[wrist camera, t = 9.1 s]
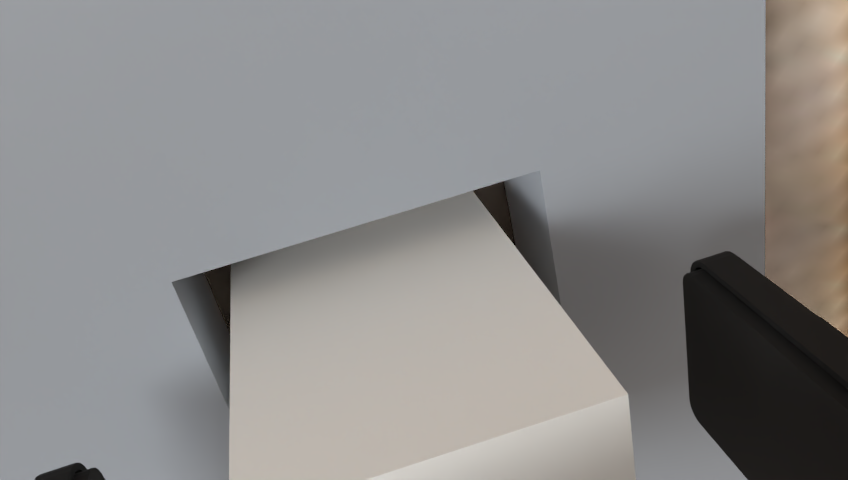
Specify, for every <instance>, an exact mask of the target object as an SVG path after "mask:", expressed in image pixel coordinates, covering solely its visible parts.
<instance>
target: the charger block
mask: <svg viewBox="0 0 848 480" xmlns="http://www.w3.org/2000/svg"><path fill="white" fill-rule="evenodd" d="M229 480H636V474H635V464H634V453H633V442H632V431H631V420H630V409H629V398H628V393H627V392H626V391H625V389H624V388H623V387H622V385H621V384H620V383H619V382H618V380H617V379H616V378H615V376H614V375H613V374H612V372H611V371H610V370H609V368H608V367H607V366H606V365H605V363H604V362H603V361H602V359H601V358H600V357H599V355H598V354H597V353H596V351H595V350H594V349H593V348H592V346H591V345H590V344H589V342H588V341H587V340H586V338H585V337H584V336H583V334H582V333H581V332H580V331H579V329H578V328H577V327H576V325H575V324H574V323H573V321H572V320H571V319H570V317H569V316H568V315H567V314H566V312H565V311H564V310H563V308H562V307H561V306H560V304H559V303H558V302H557V300H556V299H555V298H554V297H553V295H552V294H551V293H550V291H549V290H548V289H547V287H546V286H545V285H544V283H543V282H542V281H541V280H540V278H539V277H538V276H537V274H536V273H535V272H534V270H533V269H532V268H531V266H530V265H529V264H528V263H527V261H526V260H525V259H524V257H523V256H522V255H521V253H520V252H519V251H518V249H517V248H516V247H515V246H514V244H513V243H512V242H511V240H510V239H509V238H508V236H507V235H506V234H505V232H504V231H503V230H502V229H501V227H500V226H499V225H498V223H497V222H496V221H495V219H494V218H493V217H492V215H491V214H490V213H489V212H488V210H487V209H486V208H485V206H484V205H483V204H482V202H481V201H480V200H479V198H478V197H477V196H476V195H475V193H474V192H473V191H470V192H466V193H463V194H460V195H457V196H453V197H450V198H447V199H443V200H440V201H437V202H434V203H430V204H427V205H424V206H420V207H417V208H414V209H411V210H407V211H404V212H401V213H397V214H394V215H391V216H387V217H384V218H381V219H378V220H374V221H371V222H368V223H364V224H361V225H358V226H355V227H351V228H348V229H345V230H341V231H338V232H335V233H332V234H328V235H325V236H322V237H318V238H315V239H312V240H308V241H305V242H302V243H299V244H295V245H292V246H289V247H285V248H282V249H279V250H276V251H272V252H269V253H266V254H262V255H259V256H256V257H253V258H249V259H246V260H243V261H239V262H236V263H233V264H231V312H230V419H229Z"/></svg>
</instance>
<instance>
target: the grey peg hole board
mask: <svg viewBox="0 0 848 480" xmlns="http://www.w3.org/2000/svg"><path fill="white" fill-rule="evenodd" d="M765 14H766V0H0V480H35V478H36V477H37V476H38V475H40V474H43V473H46V472H49V471H52V470H55V469H58V468H61V467H64V466H67V465H70V464H73V463H81V464H83V465H84V466H85V467H86V468H87V469H90V468H97V469H99V471H100V472H101V473H102V475H103V477H104V478H105V480H229V419H230V333H229V331H228V328H227V326H226V324H225V321H224V319H223V317H222V314H221V312H220V309H219V307H218V305H217V302H216V300H215V298H214V295H213V293H212V291H211V288H210V286H209V283H208V281H207V279H206V276H205V274H204V272H206V271H210V270H213V269H216V268H220V267H223V266H226V265H229V264H233V263H236V262H239V261H243V260H246V259H249V258H253V257H256V256H259V255H262V254H266V253H269V252H272V251H276V250H279V249H282V248H285V247H289V246H292V245H295V244H299V243H302V242H305V241H308V240H312V239H315V238H318V237H322V236H325V235H328V234H332V233H335V232H338V231H341V230H345V229H348V228H351V227H355V226H358V225H361V224H364V223H368V222H371V221H374V220H378V219H381V218H384V217H387V216H391V215H394V214H397V213H401V212H404V211H407V210H411V209H414V208H417V207H420V206H424V205H427V204H430V203H434V202H437V201H440V200H443V199H447V198H450V197H453V196H457V195H460V194H463V193H466V192H470V191H473V190H476V189H480V188H483V187H486V186H490V185H493V184H496V183H499V182H503V181H504V185H505V190H506V196H507V201H508V207H509V212H510V218H511V223H512V228H513V234H514V239H515V245H516V248H517V249H518V251H519V252H520V253H521V255H522V256H523V257H524V259H525V260H526V261H527V263H528V264H529V265H530V266H531V268H532V269H533V270H534V272H535V273H536V274H537V276H538V277H539V278H540V280H541V281H542V282H543V283H544V285H545V286H546V287H547V289H548V290H549V291H550V293H551V294H552V295H553V297H554V298H555V299H556V300H557V302H558V303H559V304H560V306H561V307H562V308H563V310H564V311H565V312H566V314H567V315H568V316H569V317H570V319H571V320H572V321H573V323H574V324H575V325H576V327H577V328H578V329H579V331H580V332H581V333H582V334H583V336H584V337H585V338H586V340H587V341H588V342H589V344H590V345H591V346H592V348H593V349H594V350H595V351H596V353H597V354H598V355H599V357H600V358H601V359H602V361H603V362H604V363H605V365H606V366H607V367H608V368H609V370H610V371H611V372H612V374H613V375H614V376H615V378H616V379H617V380H618V382H619V383H620V384H621V385H622V387H623V388H624V389H625V391H626V392H627V393H628V398H629V409H630V420H631V431H632V442H633V453H634V464H635V474H636V480H748V479H747V478H746V477H745V476H744V475H743V474H742V472H741V471H740V470H739V469H738V468H737V467H736V465H735V464H734V463H733V462H732V461H731V460H730V458H729V457H728V456H727V455H726V454H725V453H724V451H723V450H722V449H721V448H720V447H719V446H718V444H717V443H716V442H715V441H714V440H713V438H712V437H711V436H710V435H709V434H708V433H707V431H706V430H705V429H704V428H703V427H702V426H701V424H700V423H699V422H698V420H697V419H696V417H695V415H694V413H693V411H692V409H691V405H690V400H689V384H688V367H687V349H686V331H685V314H684V296H683V277H684V275H685V274H686V273H689V272H690V269H691V265H692V263H693V262H695V261H697V260H700V259H703V258H706V257H709V256H712V255H715V254H718V253H721V252H724V251H730V252H732V253H734V254H736V255H737V256H738V257H740V258H741V259H742V260H744V261H745V262H746V263H748V264H749V265H750V266H752V267H753V268H754V269H756V270H757V271H758V272H760V273H761V274H762V275H764V276H765Z"/></svg>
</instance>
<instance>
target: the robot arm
mask: <svg viewBox="0 0 848 480" xmlns="http://www.w3.org/2000/svg"><path fill="white" fill-rule="evenodd" d="M683 296H684V314H685V331H686V349H687V367H688V384H689V400H690V405H691V409H692V411H693V413H694V415H695V417H696V419H697V420H698V422H699V423H700V424H701V426H702V427H703V428H704V429H705V430H706V431H707V433H708V434H709V435H710V436H711V437H712V438H713V440H714V441H715V442H716V443H717V444H718V446H719V447H720V448H721V449H722V450H723V451H724V453H725V454H726V455H727V456H728V457H729V458H730V460H731V461H732V462H733V463H734V464H735V465H736V467H737V468H738V469H739V470H740V471H741V472H742V474H743V475H744V476H745V477H746V478H747V479H748V480H848V337H846V336H845V335H844V334H842V333H841V332H840V331H838V330H837V329H836V328H834V327H833V326H832V325H830V324H829V323H828V322H826V321H825V320H824V319H822V318H821V317H819V316H817V315H815V314H814V313H813V312H811V311H810V310H809V309H807V308H806V307H805V306H803V305H802V304H801V303H799V302H798V301H797V300H795V299H794V298H793V297H791V296H790V295H789V294H787V293H786V292H785V291H783V290H782V289H781V288H779V287H778V286H777V285H776V284H774V283H773V282H772V281H770V280H769V279H768V278H766V277H765V276H764V275H762V274H761V273H760V272H758V271H757V270H756V269H754V268H753V267H752V266H750V265H749V264H748V263H746V262H745V261H744V260H742V259H741V258H740V257H738V256H737V255H736V254H734V253H732V252H730V251H724V252H721V253H718V254H715V255H712V256H709V257H706V258H703V259H700V260H697V261H695V262H693V263H692V265H691V269H690V272H689V273H686V274H685V275H684V277H683ZM35 480H105V478H104V477H103V475H102V473H101V472H100V471H99V469H97V468H90V469H87V468H86V467H85V466H84V465H83V464H81V463H73V464H70V465H67V466H64V467H61V468H58V469H55V470H52V471H49V472H46V473H43V474H40V475H38V476H37V477H36V478H35Z"/></svg>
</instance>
